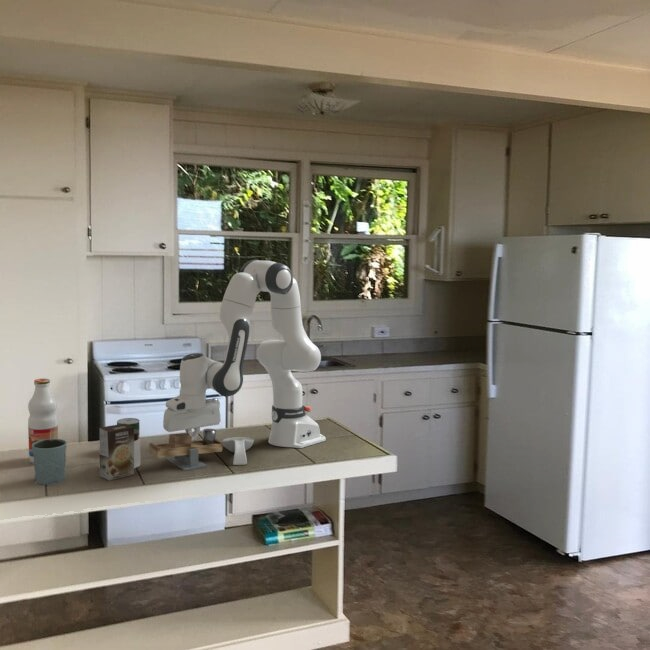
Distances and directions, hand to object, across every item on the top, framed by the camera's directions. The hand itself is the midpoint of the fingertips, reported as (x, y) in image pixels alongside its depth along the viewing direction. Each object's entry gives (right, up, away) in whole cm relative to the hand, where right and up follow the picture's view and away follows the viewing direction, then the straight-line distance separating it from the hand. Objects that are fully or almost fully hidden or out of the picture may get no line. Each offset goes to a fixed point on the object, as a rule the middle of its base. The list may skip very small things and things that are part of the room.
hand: (192, 440), depth 243 cm
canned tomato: (-25, -6, +12) cm, 29 cm away
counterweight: (+5, -2, +4) cm, 7 cm away
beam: (-2, -3, -1) cm, 4 cm away
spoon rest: (+15, -7, +11) cm, 20 cm away
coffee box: (-22, -9, -14) cm, 27 cm away
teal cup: (-41, -10, -20) cm, 47 cm away
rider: (-4, -2, -3) cm, 5 cm away
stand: (-2, -8, 0) cm, 8 cm away
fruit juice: (-51, -7, -1) cm, 51 cm away
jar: (-21, -8, -5) cm, 23 cm away
